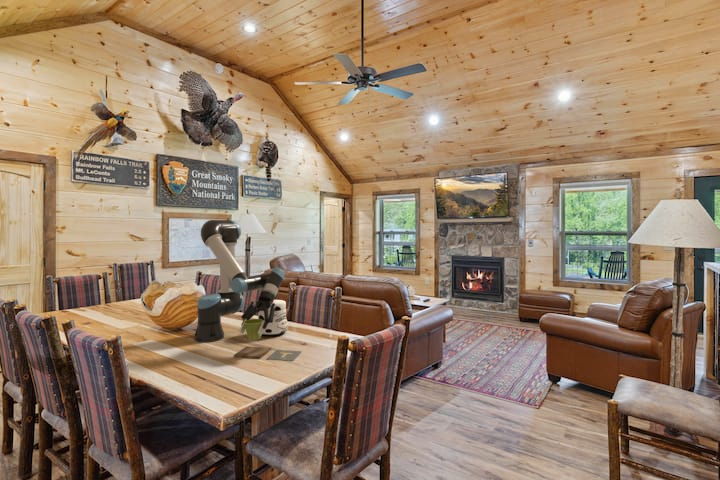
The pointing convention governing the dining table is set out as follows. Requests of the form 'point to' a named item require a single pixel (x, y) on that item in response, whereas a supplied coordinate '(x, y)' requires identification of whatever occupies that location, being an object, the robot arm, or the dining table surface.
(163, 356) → the dining table surface
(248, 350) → the walnut board
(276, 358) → the slate mat
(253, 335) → the plant pot
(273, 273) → the robot arm
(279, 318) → the milk container
